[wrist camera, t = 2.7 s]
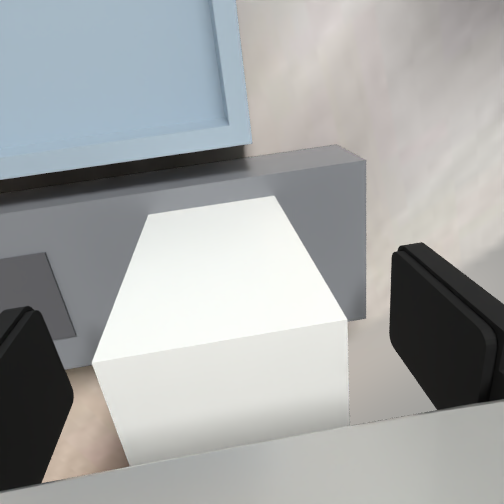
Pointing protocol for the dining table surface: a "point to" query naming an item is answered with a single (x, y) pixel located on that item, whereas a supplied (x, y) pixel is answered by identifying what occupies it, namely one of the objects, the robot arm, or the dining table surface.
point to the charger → (222, 336)
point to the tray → (117, 82)
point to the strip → (164, 200)
